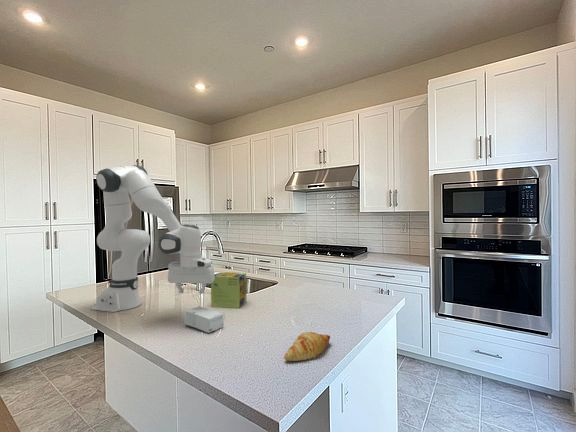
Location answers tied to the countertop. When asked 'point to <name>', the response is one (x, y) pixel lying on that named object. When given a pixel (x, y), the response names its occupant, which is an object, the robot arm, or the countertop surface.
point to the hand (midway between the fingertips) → (191, 293)
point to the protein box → (228, 290)
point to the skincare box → (204, 319)
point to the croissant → (307, 346)
